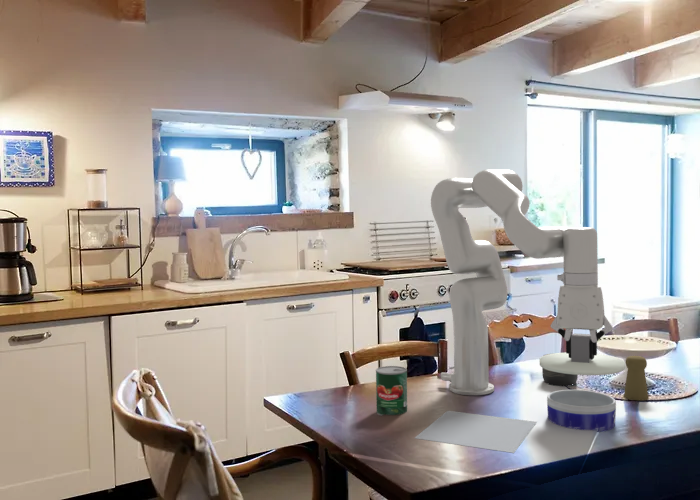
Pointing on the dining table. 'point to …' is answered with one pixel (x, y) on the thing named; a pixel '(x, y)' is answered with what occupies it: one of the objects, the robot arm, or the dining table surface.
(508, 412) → the dining table surface
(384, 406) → the canned tomato
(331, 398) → the dining table surface
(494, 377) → the dining table surface
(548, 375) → the jar
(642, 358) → the olive pawn
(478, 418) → the mat
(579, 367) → the lid
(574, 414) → the dog bowl
